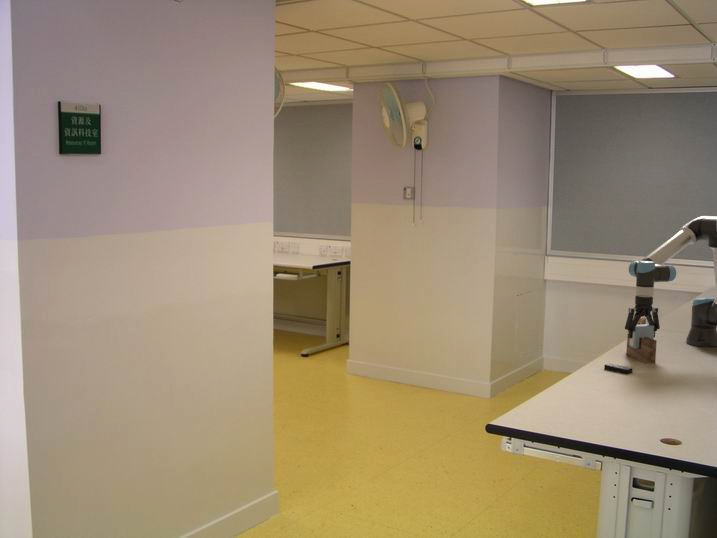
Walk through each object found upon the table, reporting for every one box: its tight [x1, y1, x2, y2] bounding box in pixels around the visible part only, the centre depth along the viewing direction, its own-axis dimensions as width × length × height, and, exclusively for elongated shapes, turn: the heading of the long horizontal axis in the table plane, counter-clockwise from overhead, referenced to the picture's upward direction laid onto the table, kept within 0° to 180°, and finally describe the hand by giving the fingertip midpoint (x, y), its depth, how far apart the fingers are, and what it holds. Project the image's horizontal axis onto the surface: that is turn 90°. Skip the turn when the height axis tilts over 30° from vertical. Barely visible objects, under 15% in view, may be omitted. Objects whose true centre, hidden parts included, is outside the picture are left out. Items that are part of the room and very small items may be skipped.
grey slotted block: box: [630, 323, 654, 348], centre depth 357 cm, size 9×4×10 cm, turn 105°
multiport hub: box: [603, 363, 633, 375], centre depth 335 cm, size 4×11×2 cm, turn 41°
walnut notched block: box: [626, 333, 658, 364], centre depth 358 cm, size 4×16×10 cm, turn 15°
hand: (641, 344), depth 358 cm, fingers closed on grey slotted block, 9 cm apart
